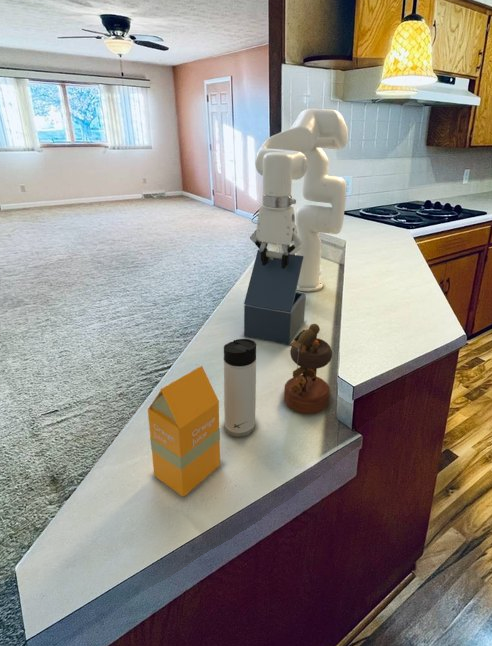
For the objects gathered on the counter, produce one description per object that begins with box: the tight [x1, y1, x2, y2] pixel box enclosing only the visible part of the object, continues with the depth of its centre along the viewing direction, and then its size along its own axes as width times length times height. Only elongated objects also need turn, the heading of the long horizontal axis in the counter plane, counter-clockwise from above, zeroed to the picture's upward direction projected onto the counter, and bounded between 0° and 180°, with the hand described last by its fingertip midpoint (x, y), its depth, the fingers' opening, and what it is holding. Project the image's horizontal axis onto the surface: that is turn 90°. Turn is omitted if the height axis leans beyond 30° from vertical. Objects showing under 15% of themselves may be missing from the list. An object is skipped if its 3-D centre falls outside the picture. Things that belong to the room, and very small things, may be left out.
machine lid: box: [243, 249, 304, 312], centre depth 115 cm, size 17×14×6 cm
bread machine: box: [243, 291, 307, 346], centre depth 124 cm, size 16×14×10 cm
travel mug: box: [223, 338, 257, 438], centre depth 81 cm, size 6×7×20 cm
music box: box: [283, 323, 333, 415], centre depth 92 cm, size 15×11×20 cm
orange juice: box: [147, 365, 221, 498], centre depth 70 cm, size 8×9×20 cm
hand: (274, 265), depth 116 cm, fingers closed on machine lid, 5 cm apart
